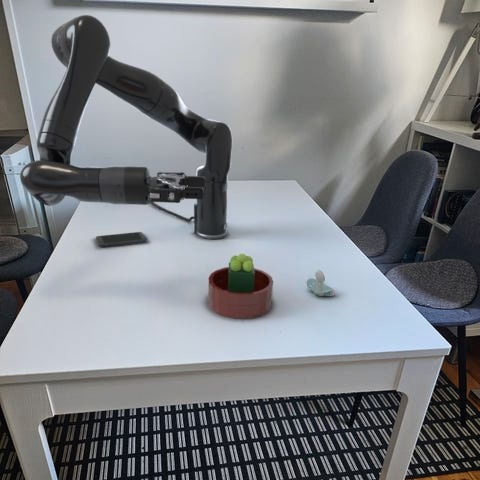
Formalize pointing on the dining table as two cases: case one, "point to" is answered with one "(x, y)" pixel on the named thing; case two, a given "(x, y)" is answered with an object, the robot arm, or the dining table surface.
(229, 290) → the grapes
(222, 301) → the pot
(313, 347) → the dining table surface
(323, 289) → the pacifier
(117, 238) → the cell phone
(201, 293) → the dining table surface
